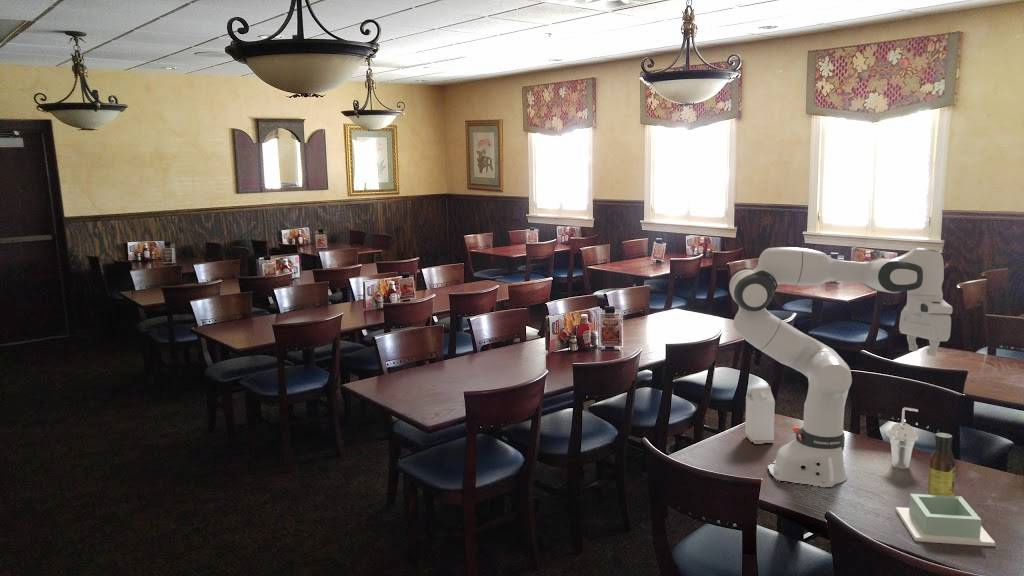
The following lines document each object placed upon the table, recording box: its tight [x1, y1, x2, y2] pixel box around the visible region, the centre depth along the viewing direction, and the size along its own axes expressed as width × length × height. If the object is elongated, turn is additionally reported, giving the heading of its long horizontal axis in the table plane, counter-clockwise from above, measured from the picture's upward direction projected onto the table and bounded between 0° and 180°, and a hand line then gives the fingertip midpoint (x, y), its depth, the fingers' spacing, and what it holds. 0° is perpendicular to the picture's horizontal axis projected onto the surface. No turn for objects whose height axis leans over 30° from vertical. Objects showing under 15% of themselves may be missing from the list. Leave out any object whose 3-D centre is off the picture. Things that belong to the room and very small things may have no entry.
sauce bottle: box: [927, 432, 957, 496], centre depth 199 cm, size 6×6×20 cm
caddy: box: [895, 493, 996, 547], centre depth 188 cm, size 18×16×6 cm
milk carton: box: [744, 386, 776, 441], centre depth 246 cm, size 7×7×19 cm
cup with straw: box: [886, 407, 920, 470], centre depth 223 cm, size 8×9×20 cm
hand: (922, 353), depth 207 cm, fingers open, 8 cm apart
